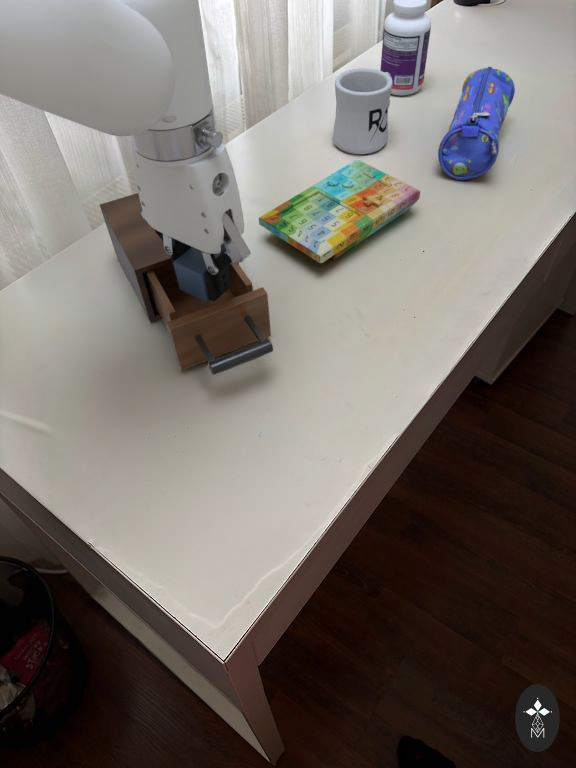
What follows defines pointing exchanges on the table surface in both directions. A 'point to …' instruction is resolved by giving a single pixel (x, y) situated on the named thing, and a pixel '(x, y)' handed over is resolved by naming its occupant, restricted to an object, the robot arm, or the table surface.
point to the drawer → (212, 320)
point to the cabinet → (135, 246)
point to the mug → (362, 110)
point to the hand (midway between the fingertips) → (203, 284)
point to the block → (192, 273)
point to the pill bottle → (406, 45)
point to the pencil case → (476, 124)
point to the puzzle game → (340, 211)
